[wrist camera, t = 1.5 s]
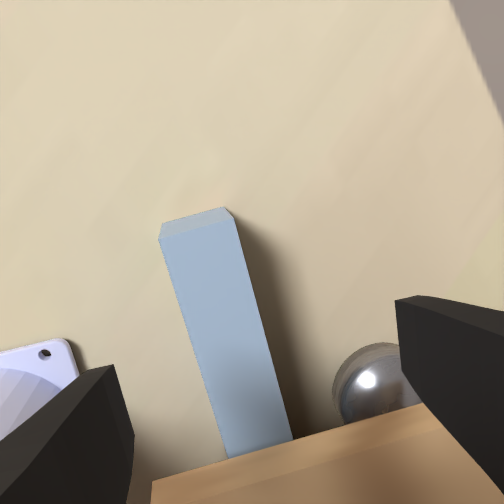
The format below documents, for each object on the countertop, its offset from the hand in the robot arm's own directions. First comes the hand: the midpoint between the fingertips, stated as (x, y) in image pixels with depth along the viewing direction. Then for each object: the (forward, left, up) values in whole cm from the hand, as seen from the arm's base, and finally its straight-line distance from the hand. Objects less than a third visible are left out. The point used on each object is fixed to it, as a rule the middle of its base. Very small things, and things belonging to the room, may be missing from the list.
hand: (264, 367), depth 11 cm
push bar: (-1, -4, -10) cm, 10 cm away
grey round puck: (+6, -8, -10) cm, 14 cm away
